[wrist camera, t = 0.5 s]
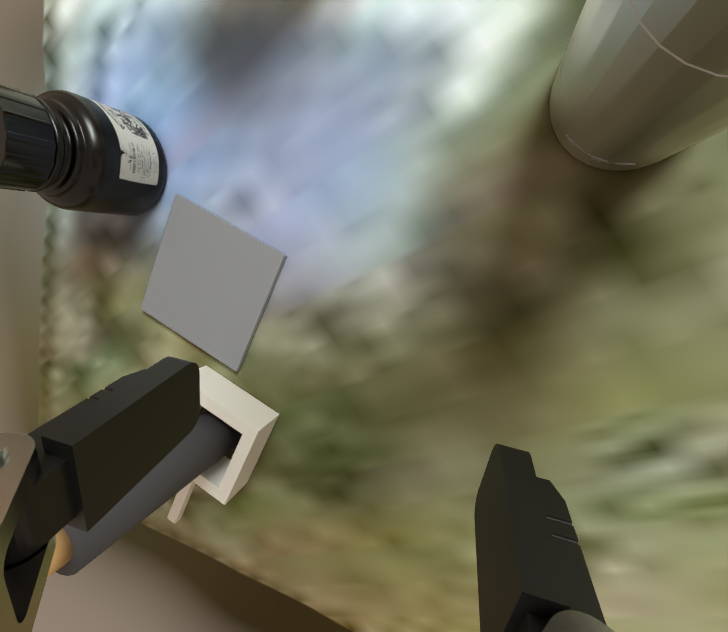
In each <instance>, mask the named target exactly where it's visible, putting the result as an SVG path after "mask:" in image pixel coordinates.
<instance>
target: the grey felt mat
mask: <svg viewBox="0 0 728 632" xmlns="http://www.w3.org/2000/svg"><path fill="white" fill-rule="evenodd" d="M286 257H287V256H286V255H284V254H282V253H281V252H279V251H277V250H275V249H274V248H272V247H270V246H268V245H267V244H265V243H263V242H261V241H260V240H258V239H256V238H254V237H253V236H251V235H249V234H247V233H246V232H244V231H242V230H240V229H239V228H237V227H235V226H233V225H232V224H230V223H228V222H226V221H225V220H223V219H221V218H219V217H218V216H216V215H214V214H212V213H211V212H209V211H207V210H205V209H204V208H202V207H200V206H198V205H197V204H195V203H193V202H191V201H190V200H188V199H186V198H184V197H183V196H181V195H177V194H176V195H175V198H174V201H173V205H172V208H171V211H170V214H169V218H168V221H167V224H166V228H165V231H164V234H163V237H162V241H161V244H160V247H159V250H158V254H157V257H156V260H155V263H154V267H153V270H152V273H151V277H150V280H149V283H148V286H147V290H146V293H145V296H144V299H143V303H142V306H141V309H142V310H143V311H145V312H146V313H148V314H149V315H151V316H152V317H154V318H155V319H157V320H158V321H160V322H161V323H163V324H164V325H166V326H167V327H169V328H170V329H172V330H173V331H175V332H176V333H178V334H180V335H181V336H183V337H184V338H186V339H187V340H189V341H190V342H192V343H193V344H195V345H196V346H198V347H199V348H201V349H202V350H204V351H205V352H207V353H208V354H210V355H211V356H213V357H214V358H216V359H217V360H219V361H220V362H222V363H224V364H225V365H227V366H228V367H230V368H231V369H233V370H234V371H236V372H237V371H239V370H240V368H241V365H242V363H243V361H244V358H245V356H246V353H247V351H248V349H249V346H250V344H251V341H252V339H253V337H254V334H255V332H256V329H257V327H258V324H259V322H260V320H261V317H262V315H263V312H264V310H265V308H266V305H267V303H268V300H269V298H270V296H271V293H272V291H273V288H274V286H275V284H276V281H277V279H278V276H279V274H280V272H281V269H282V267H283V264H284V262H285V260H286Z"/></svg>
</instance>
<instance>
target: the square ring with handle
mask: <svg viewBox="0 0 728 632" xmlns="http://www.w3.org/2000/svg"><path fill="white" fill-rule="evenodd" d="M199 371H200V411H201V408H202V407H204V408H205V409H207V410H208V411H210V412H211V413H213V414H214V415H215V416H217V417H218V418H220V419H221V420H223V421H224V422H225V423H227V424H228V425H230V426H231V427H233V428H234V429H236V430H237V431H238V432H240V433H241V434H242V436H241V439H240V441H239V443H238V445H237V448H236V450H235V452H234V454H233V457H232V459H229V458H228V457H226V456H225V455H224V456H223V457H222V458H221V459H219V460H218V461H217V462H216V463H214V464H213V465H212V466H211V467H209V468H208V469H207V470H206V471H204V472H203V473H202V474H200V475H199V476H198V477H197V478H195V479H194V480H193V481H192V482H190V483H189V484H188V485H187V486H185V487H184V488H183V489H182V490H180V491H179V492H178V493H177V495H176V497H175V499H174V502H173V504H172V507H171V509H170V512H169V514H168V517H167V519H169V520H170V521H171V522H173V523H174V524H175V523H177V522H178V521H179V520H180V519H181V517H182V515H183V512H184V510H185V507H186V505H187V503H188V500H189V498H190V496H191V493H192V491H193V488H194V486H195V484H197V485H198V486H199V487H201V488H202V489H203V490H205V491H206V492H207V493H209V494H210V495H211V496H213V497H214V498H216V499H217V500H218V501H220V502H221V503H222V504H224V505H225V504H226V503H227V502H228V501H229V500H230V499H231V498H232V497H233V496H234V495H235V494H236V493H237V492H238V491H239V490H240V489H241V488H242V487H243V486H245V485H246V484H247V482H248V480H249V478H250V476H251V474H252V471H253V469H254V467H255V465H256V463H257V461H258V459H259V457H260V455H261V452H262V450H263V448H264V446H265V444H266V442H267V440H268V438H269V435H270V433H271V431H272V429H273V427H274V425H275V423H276V421H277V419H278V416H279V414H278V413H277V412H275V411H274V410H272V409H271V408H269V407H268V406H266V405H265V404H263V403H262V402H260V401H259V400H257V399H256V398H254V397H253V396H251V395H250V394H248V393H247V392H245V391H244V390H242V389H241V388H239V387H238V386H236V385H235V384H233V383H232V382H230V381H229V380H227V379H226V378H224V377H223V376H221V375H220V374H218V373H217V372H215V371H214V370H212V369H211V368H209V367H208V366H204V367H201V368H199Z"/></svg>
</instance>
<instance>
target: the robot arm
mask: <svg viewBox="0 0 728 632" xmlns="http://www.w3.org/2000/svg"><path fill="white" fill-rule="evenodd" d="M549 108H550V120H551V123H552V126H553V129H554V133H555V135H556V137H557V138H558V140H559V141H560V143H561V145H562V146H563V147H564V148H565V149H566V150H567V151H568V152H569V153H570V154H571V155H572V156H573V157H574V158H576V159H578V160H579V161H581V162H583V163H585V164H586V165H589V166H592V167H596V168H599V169H603V170H614V171H623V170H632V169H638V168H642V167H645V166H649V165H652V164H655V163H657V162H659V161H661V160H663V159H665V158H667V157H669V156H671V155H673V154H676V153H678V152H680V151H682V150H684V149H686V148H688V147H690V146H693V145H695V144H697V143H699V142H701V141H703V140H705V139H707V138H709V137H711V136H713V135H715V134H717V133H719V132H721V131H723V130H725V129H727V128H728V0H586V2H585V5H584V7H583V10H582V12H581V15H580V17H579V20H578V22H577V25H576V27H575V29H574V32H573V34H572V37H571V39H570V41H569V44H568V46H567V49H566V51H565V53H564V56H563V58H562V61H561V63H560V66H559V68H558V71H557V74H556V76H555V79H554V82H553V85H552V88H551V95H550V102H549ZM199 415H200V371H199V367H198V365H197V364H196V363H193V362H189V361H185V360H181V359H178V358H174V357H166V358H164V359H162V360H161V361H159V362H158V363H156V364H154V365H153V366H151V367H150V368H148V369H144V370H141V371H138V372H135V373H132V374H129V375H126V376H123V377H122V378H120V379H118V380H117V381H115V382H113V383H112V384H110V385H108V386H107V387H105V390H100V391H98V392H97V393H95V394H93V395H92V396H90V399H85V400H83V401H82V402H80V403H79V404H77V405H75V406H74V407H72V408H70V409H69V410H67V411H65V412H64V413H62V414H60V415H59V416H57V417H55V418H54V419H52V420H50V421H49V422H47V423H45V424H44V425H42V426H40V427H39V428H37V429H36V430H34V431H32V432H31V433H29V434H23V433H18V432H6V433H0V632H32V628H33V625H34V621H35V617H36V614H37V611H38V607H39V604H40V600H41V597H42V593H43V589H44V586H45V582H46V579H47V576H48V572H49V569H50V565H51V562H52V558H53V555H54V551H55V548H56V534H57V533H58V532H59V531H60V530H61V529H62V528H64V527H65V526H66V525H68V526H71V527H74V528H77V529H80V530H82V531H85V532H88V531H89V530H90V529H91V528H92V527H93V526H94V525H95V524H97V523H98V522H99V521H100V520H101V519H102V518H103V517H104V516H105V515H106V514H107V513H108V512H109V511H110V510H111V509H112V508H113V507H114V506H115V505H116V504H117V503H118V502H119V501H120V500H121V499H122V498H123V497H124V496H125V495H126V494H128V493H129V492H130V491H131V490H132V489H133V488H134V487H135V486H136V485H137V484H138V483H139V482H140V481H141V480H142V479H143V478H144V477H145V476H146V475H147V474H148V473H149V472H150V471H151V470H152V469H153V468H154V467H155V466H156V465H157V464H159V463H160V462H161V461H162V460H163V459H164V458H165V457H166V456H167V455H168V454H169V453H170V452H171V451H172V450H173V449H174V448H175V447H176V446H177V445H178V444H179V443H180V442H181V441H182V440H183V439H184V438H185V437H186V436H187V435H188V434H189V433H190V432H191V431H192V430H193V429H194V427H195V425H196V423H197V421H198V418H199ZM475 535H476V555H477V574H478V594H479V613H480V632H614V631H613V630H612V629H610V628H609V627H608V626H607V625H606V622H605V620H604V617H603V614H602V611H601V608H600V605H599V602H598V599H597V596H596V593H595V590H594V587H593V584H592V581H591V578H590V575H589V572H588V569H587V566H586V563H585V559H584V556H583V553H582V550H581V547H580V545H578V538H577V535H576V532H575V529H574V527H573V526H572V520H571V517H570V514H569V511H568V508H567V505H566V502H565V500H564V499H563V498H562V496H561V495H560V494H559V492H558V491H557V490H556V488H555V487H554V486H553V484H552V483H551V482H550V481H549V480H546V479H542V478H538V477H536V474H535V470H534V466H533V462H532V458H531V455H530V453H529V452H526V451H522V450H519V449H515V448H511V447H507V446H504V445H500V444H496V445H495V446H494V448H493V450H492V453H491V455H490V458H489V461H488V464H487V467H486V470H485V473H484V476H483V478H482V481H481V484H480V487H479V490H478V494H477V498H476V504H475Z"/></svg>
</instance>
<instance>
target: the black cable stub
mask: <svg viewBox="0 0 728 632" xmlns="http://www.w3.org/2000/svg"><path fill="white" fill-rule="evenodd" d="M241 436H242V434H241V433H240V432H238V431H237V430H236V429H234V428H233V427H231V426H230V425H228V424H227V423H225V422H224V421H223V420H221V419H220V418H218V417H217V416H215V415H214V414H213V413H211V412H210V411H208V410H207V411H206V412H204V413H202V414H201V415H199V418H198V421H197V423H196V425H195V427H194V429H193V430H192V431H191V432H190V433H189V434H188V435H187V436H186V437H185V438H184V439H183V440H182V441H181V442H180V443H179V444H178V445H177V446H176V447H175V448H174V449H173V450H172V451H171V452H170V453H169V454H168V455H167V456H166V457H165V458H164V459H163V460H162V461H161V462H160V463H159V464H157V465H156V466H155V467H154V468H153V469H152V470H151V471H150V472H149V473H148V474H147V475H146V476H145V477H144V478H143V479H142V480H141V481H140V482H139V483H138V484H137V485H136V486H135V487H134V488H133V489H132V490H131V491H130V492H129V493H128V494H126V495H125V496H124V497H123V498H122V499H121V500H120V501H119V502H118V503H117V504H116V505H115V506H114V507H113V508H112V509H111V510H110V511H109V512H108V513H107V514H106V515H105V516H104V517H103V518H102V519H101V520H100V521H99V522H98V523H97V524H95V525H94V526H93V527H92V528H91V529H90V530H89V531H88V532H85V531H82V530H80V529H77V528H74V527H71V526H68V525H66V526H65V527H64V528H62V529H61V530H60V531H59V532H58V533H57V534H56V548H55V551H54V555H53V558H52V562H51V565H50V569H49V572H48V576H47V578H48V577H49V576H50V575H52V574H53V573H54V572H57V573H59V574H61V575H67V576H69V575H74V574H75V573H77V572H78V571H79V570H81V569H82V568H83V567H85V566H86V565H87V564H88V563H89V562H91V561H92V560H93V559H95V558H96V557H97V556H98V555H100V554H101V553H102V552H103V551H105V550H106V549H107V548H108V547H110V546H111V545H112V544H114V543H115V542H116V541H117V540H119V539H120V538H121V537H122V536H124V535H125V534H126V533H127V532H129V531H130V530H131V529H132V528H134V527H135V526H136V525H138V524H139V523H140V522H141V521H143V520H144V519H145V518H146V517H148V516H149V515H150V514H151V513H153V512H154V511H155V510H156V509H158V508H159V507H160V506H161V505H163V504H164V503H165V502H166V501H168V500H169V499H170V498H172V497H173V496H174V495H175V494H177V493H178V492H179V491H180V490H182V489H183V488H184V487H185V486H187V485H188V484H189V483H190V482H192V481H193V480H194V479H195V478H197V477H198V476H199V475H200V474H202V473H203V472H204V471H206V470H207V469H208V468H209V467H211V466H212V465H213V464H214V463H216V462H217V461H218V460H219V459H221V458H222V457H223V456H224V455H226V454H227V453H228V452H229V451H231V450H232V449H233V448H235V447H236V446H237V445H238V443H239V441H240V439H241Z"/></svg>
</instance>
